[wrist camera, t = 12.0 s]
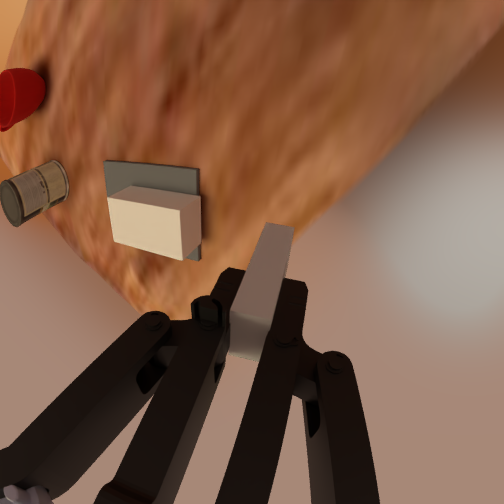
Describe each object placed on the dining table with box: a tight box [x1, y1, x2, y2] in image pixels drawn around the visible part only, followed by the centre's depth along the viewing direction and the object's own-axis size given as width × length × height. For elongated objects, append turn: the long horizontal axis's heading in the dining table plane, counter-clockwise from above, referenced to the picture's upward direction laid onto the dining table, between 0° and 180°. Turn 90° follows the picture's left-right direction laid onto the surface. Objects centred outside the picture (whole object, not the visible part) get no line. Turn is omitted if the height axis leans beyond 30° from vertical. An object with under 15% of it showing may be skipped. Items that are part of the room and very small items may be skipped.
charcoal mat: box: [103, 160, 201, 261], centre depth 50 cm, size 20×16×1 cm
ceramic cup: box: [0, 68, 46, 132], centre depth 43 cm, size 13×17×10 cm
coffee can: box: [0, 160, 69, 227], centre depth 51 cm, size 10×10×14 cm
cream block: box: [107, 186, 202, 261], centre depth 46 cm, size 6×8×14 cm
